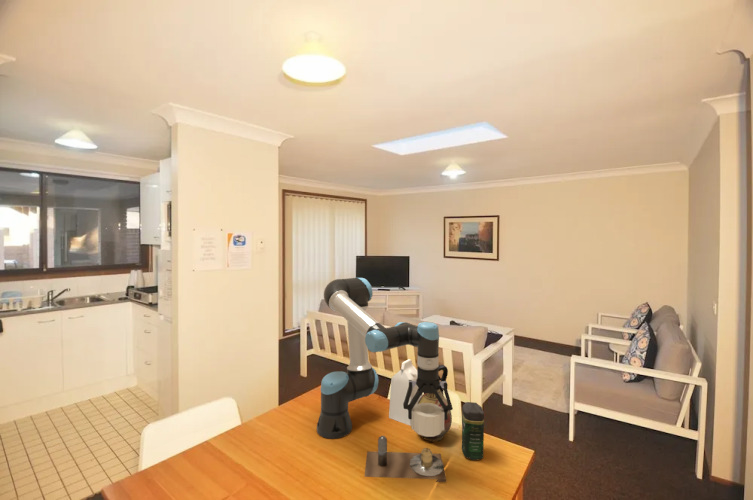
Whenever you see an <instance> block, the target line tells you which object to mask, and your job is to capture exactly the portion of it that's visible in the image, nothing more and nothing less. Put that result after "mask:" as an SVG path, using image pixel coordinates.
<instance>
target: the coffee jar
mask: <svg viewBox="0 0 753 500" xmlns="http://www.w3.org/2000/svg"><path fill="white" fill-rule="evenodd" d="M461 408H462V409H461V411H462V413H461V414H462V415H461V417H462V419H461V421H462V422H461V423H462V424H461V450H462V451H461V452H462V454H463V457H465V458H466V459H469V460H472V461H479V460H482V459H483V458H484V445H485V444H484V443H485V442H484V440H485V439H484V438H485V437H484V436H485V434H484V433H485V412H484V409H483V407H482V406H481V405H479V404H478V403H477V402H472V401H467V402H465V403H464V404H462V407H461Z"/></svg>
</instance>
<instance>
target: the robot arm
mask: <svg viewBox="0 0 753 500" xmlns="http://www.w3.org/2000/svg"><path fill="white" fill-rule="evenodd" d="M373 294H374V293H373V287H372V285H371V283H370V282H369V281H368V279H366V278H364V277H351V278H337V279H334V280H332V281H330V282H329V283H328V284H326V286H325V288H324V291H323V299H324V302H325V304H326V305H327V307H328V308H330V309H331V310H332V311H333V312H337V313H338V314H339V315H341V317H343V318H344V319H345V320H346V321H347V337H348V353H349V365H348V366H347V367H346V371H342V370H339V371H332V372H329V373H327V374H326V375H324V376H323V377H322V380H321V384H320V414H319V417H318V420H317V423H316V432H317V433H316V434H318V435H319V436H321V437H323V438H324V439H325V438H326V439H331V440H332V439H333V440H334V439H340V438H344V437H346V436H348V435H349V434H351V431H352V430H353V422H352V419H351V416H350V413H349V403H350V402H354V401H357V400H359V399H362V398H365V397H366V398H367V397H369V396H370V395H373V394H374V393H375V392H376V391H377V389H378V387H379V375H378V373H377V370H376V369H375V368H374V367H373V365H372V364H371V362H369V352H371V353H378V352H380V353H381V352H385V351H388V350H391V349H396V348H400V347H403V346H404V347H405V346H411V347H414V348H417V349H416V350H417V352H416V353H417V362H416V363H417V367H416V369H417V380H416V381H412V380H409V387H408V390H407V394H406V397H405V400H404V403H403V407H404V409H407V410H408V418H409V419H411V426H410V427H411V430H412V431H414V409H413V407H414V406H415V404H416V402H417V401H418V399H419V397H420V396H421V395H422V393H423V394H424V393H430V394H432V393H434V394H435V396H436V397H437V399H438V401H439V403H440V404H441V406H442V408H443V409H442V430H444V420H447V412H448V410H451V411H453V410H454V409H453V405H452V401H451V398H450V397H451V396H450V395H449V391H448V382H447V380H446V381H443V382H442V381H441V380H440V381H439V376H440V375H439V372H440V371H439V369H438V366H439V365H440V364H439V363H440V362H439V358H440V357H439V349H440V348H439V345H440V342H439V341H440V333H439V330H440V329H439V325H438V324H437V323H435V322H428V321H423V322H419V323H418V324H417V325H415V324H413V323H410V322H404V321H399V322H397V323H396V324H395V325H394V326H390V327H385V326H384V325H383V324H381V323H380V322H379V321H378V320H376V319H375V318H374V317H373V316H372V315H370V313H368V311H366V309H367V308H369V302H370V301H371V300H372V297H373ZM415 385H417V386H418V390H417V392H416V394H415V395H414V397H413V399H412V400H411V402H410V404H408V403H409V399H410V396H411V393H412V388H414V386H415ZM439 385H441V387H442V388H443V394H444V397H445V398H446V400H447V403H448V405H445V403H444V401H443V400H442V398H441V396H440V394H439V393H438V391H437V388H438V387H439Z"/></svg>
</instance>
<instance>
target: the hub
mask: <svg viewBox="0 0 753 500" xmlns="http://www.w3.org/2000/svg"><path fill="white" fill-rule="evenodd" d="M420 453H421V454H419V455H416V456H414V457H413V458H412V459H411V461H410V467H411V469H412V470H413V471H414V472H415V473H417V474H419V475H421V476H426V477H433V476H437V475H439V474H440V473H441V472H442V471H443V468H444V469H445V467H444V463H442V462H443V460H442V461H441V460H440V459H439V458H437V457H436V456H433V455H432V453H433V451H432V450H431V449H430V448H428V447H425V448H422V450H421V452H420Z"/></svg>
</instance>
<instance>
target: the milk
mask: <svg viewBox="0 0 753 500" xmlns="http://www.w3.org/2000/svg"><path fill="white" fill-rule="evenodd" d="M409 380H412V381H416V380H417V367H416V366H414V365H413V362H412V359H410V358H409V359H407V360H404V361H402V363H401V367H400V370H399V371H397V372H396V373H395V374H393V376H392V377H391V380H390V381H391V382H390V393H389V394H390V395H389V407H388V409H389V410H388V411H389V412H388V418H389V419H391V420H394V421H397V422H399V423H402V424H404V425H407V426H410V427H411V419H409V418H408V410H407V409H404V407H403V403H404V400H405V397H406V394H407V390H408V387H409ZM417 390H418V386H417V385H415V386H414V388H412V393H411V396H410V399H409V403H408V404H410V402H411V400H412V399H413V397H414V395H415V394H416V392H417ZM423 394H424V393H422V395H421V396H420V397H419V399H418V401H417V402H416V404H418V402H419V400H420V398H421V397H422V396H423ZM416 404H415V405H416Z"/></svg>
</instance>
